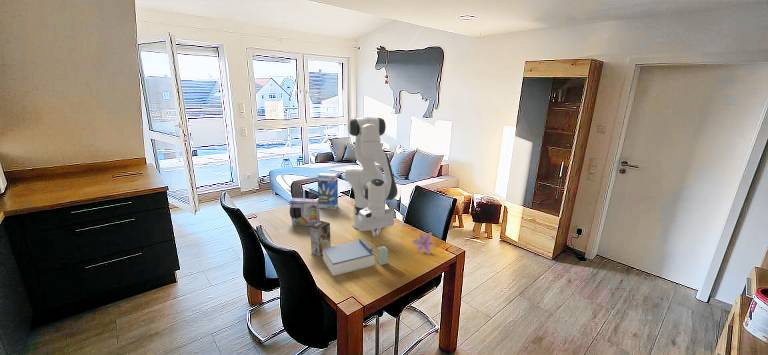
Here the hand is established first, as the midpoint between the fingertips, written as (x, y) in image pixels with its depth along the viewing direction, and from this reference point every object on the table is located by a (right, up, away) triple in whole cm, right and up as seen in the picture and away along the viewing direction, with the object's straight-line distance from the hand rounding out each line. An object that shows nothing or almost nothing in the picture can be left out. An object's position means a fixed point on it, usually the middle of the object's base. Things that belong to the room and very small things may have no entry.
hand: (375, 235), depth 165 cm
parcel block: (+3, -14, -2) cm, 14 cm away
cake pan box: (-47, -1, +41) cm, 62 cm away
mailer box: (-14, -14, -3) cm, 20 cm away
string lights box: (-38, +8, +72) cm, 82 cm away
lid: (-14, -7, -5) cm, 16 cm away
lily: (+27, -11, +12) cm, 31 cm away
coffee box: (-30, -10, +8) cm, 33 cm away
